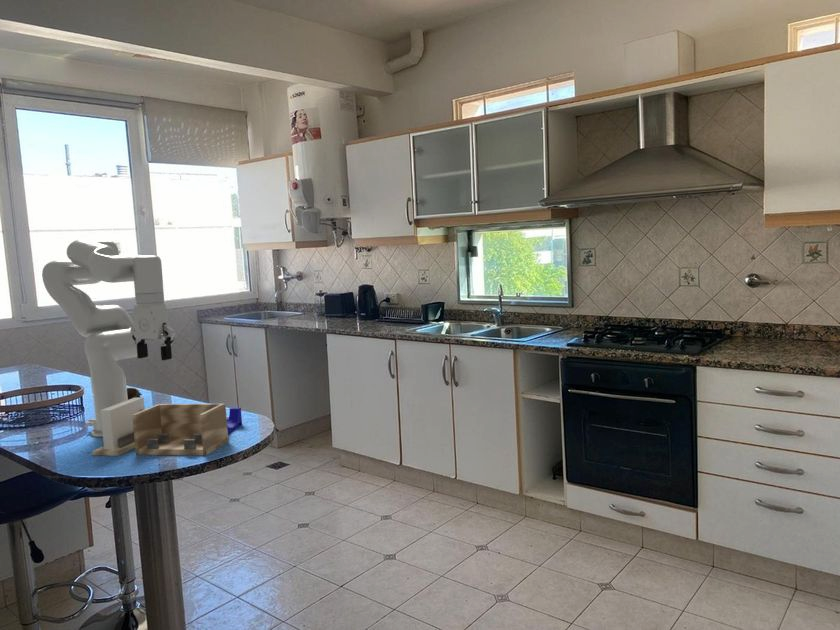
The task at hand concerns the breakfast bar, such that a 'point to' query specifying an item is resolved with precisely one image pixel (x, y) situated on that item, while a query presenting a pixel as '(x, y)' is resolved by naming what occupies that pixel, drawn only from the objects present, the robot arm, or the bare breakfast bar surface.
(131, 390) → the pottery mug
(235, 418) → the cable clip
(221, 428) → the cabinet
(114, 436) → the door
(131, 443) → the door stand
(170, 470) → the breakfast bar surface
